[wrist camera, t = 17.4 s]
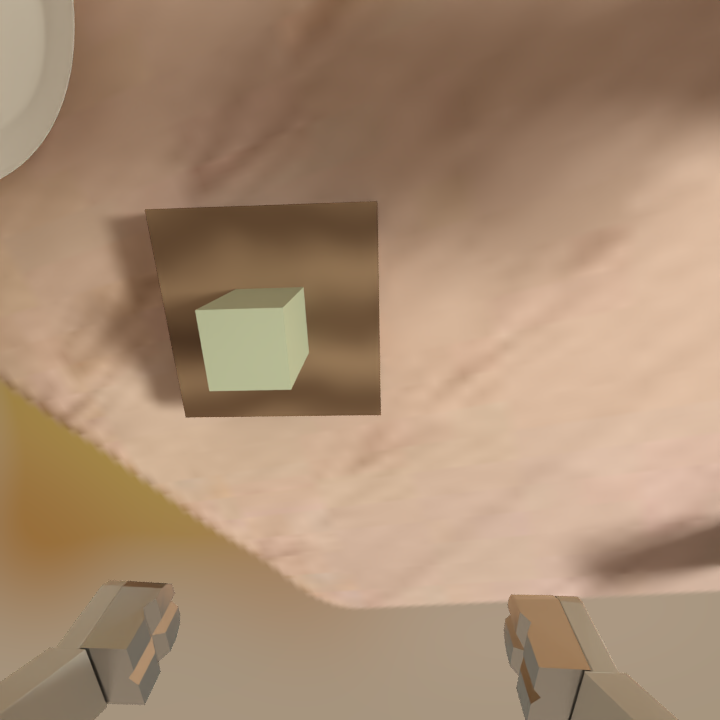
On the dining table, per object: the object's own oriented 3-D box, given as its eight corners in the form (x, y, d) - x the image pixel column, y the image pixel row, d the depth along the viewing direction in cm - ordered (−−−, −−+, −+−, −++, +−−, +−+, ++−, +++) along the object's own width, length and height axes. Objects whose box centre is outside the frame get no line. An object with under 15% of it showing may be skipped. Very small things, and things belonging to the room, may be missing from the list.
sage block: (235, 289, 29) (195, 310, 23) (303, 287, 29) (282, 307, 22) (244, 354, 31) (209, 391, 24) (309, 352, 31) (291, 389, 24)
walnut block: (178, 210, 32) (144, 209, 28) (376, 203, 32) (377, 201, 27) (209, 392, 38) (185, 417, 33) (379, 389, 37) (380, 414, 32)
